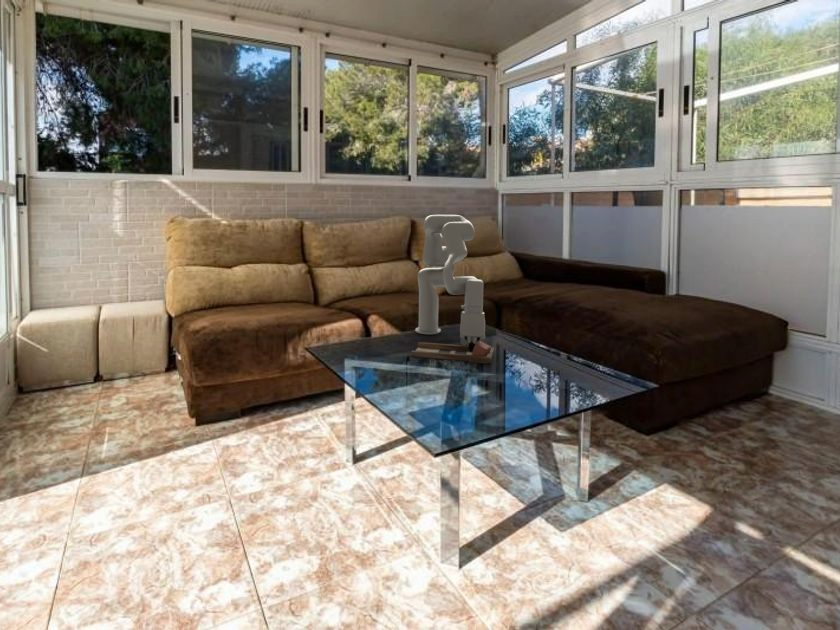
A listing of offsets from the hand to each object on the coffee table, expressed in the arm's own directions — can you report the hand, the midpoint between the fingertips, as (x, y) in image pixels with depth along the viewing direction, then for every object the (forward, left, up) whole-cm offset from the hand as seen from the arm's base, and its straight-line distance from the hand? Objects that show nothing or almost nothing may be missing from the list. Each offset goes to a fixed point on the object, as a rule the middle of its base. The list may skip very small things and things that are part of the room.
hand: (471, 351), depth 234 cm
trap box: (0, -9, -2) cm, 9 cm away
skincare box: (-19, -3, -3) cm, 20 cm away
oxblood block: (+1, +3, -1) cm, 4 cm away
